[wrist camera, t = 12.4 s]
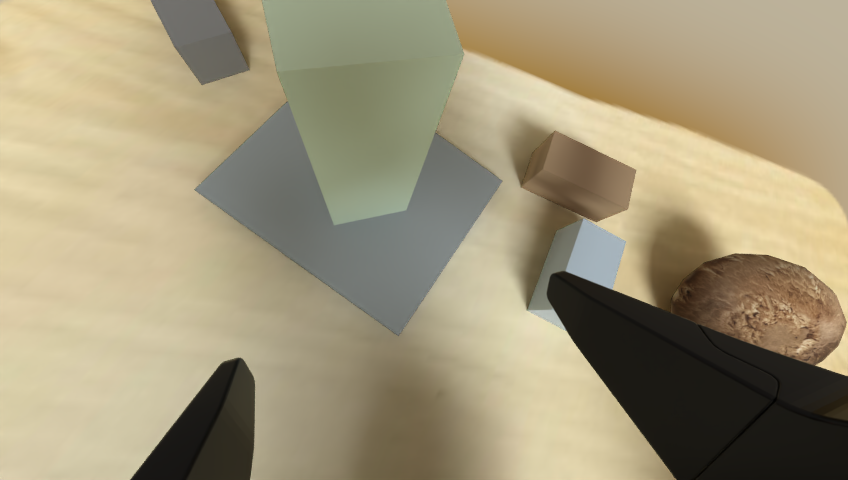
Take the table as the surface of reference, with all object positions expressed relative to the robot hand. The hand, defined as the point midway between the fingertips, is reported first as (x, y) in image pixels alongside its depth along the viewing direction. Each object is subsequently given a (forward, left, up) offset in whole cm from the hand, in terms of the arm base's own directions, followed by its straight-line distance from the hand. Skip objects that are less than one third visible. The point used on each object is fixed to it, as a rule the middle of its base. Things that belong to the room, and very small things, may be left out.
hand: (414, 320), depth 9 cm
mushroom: (-18, -12, -10) cm, 24 cm away
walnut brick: (-5, -14, -10) cm, 18 cm away
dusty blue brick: (-8, -8, -10) cm, 15 cm away
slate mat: (+6, -5, -10) cm, 13 cm away
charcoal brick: (+20, -7, -10) cm, 24 cm away
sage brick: (+6, -5, -9) cm, 12 cm away
